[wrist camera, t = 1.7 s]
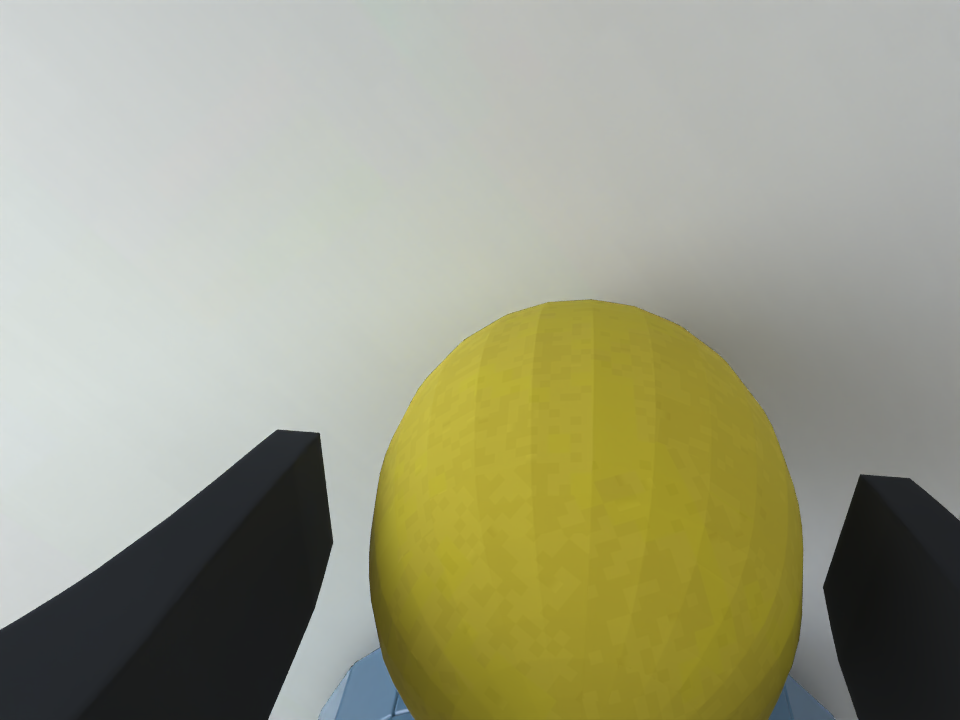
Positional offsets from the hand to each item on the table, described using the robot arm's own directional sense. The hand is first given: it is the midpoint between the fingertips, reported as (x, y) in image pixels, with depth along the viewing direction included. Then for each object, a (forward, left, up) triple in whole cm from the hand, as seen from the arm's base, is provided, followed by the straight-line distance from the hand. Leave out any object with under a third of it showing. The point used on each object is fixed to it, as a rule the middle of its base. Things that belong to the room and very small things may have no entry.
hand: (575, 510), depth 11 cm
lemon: (0, 0, -4) cm, 4 cm away
